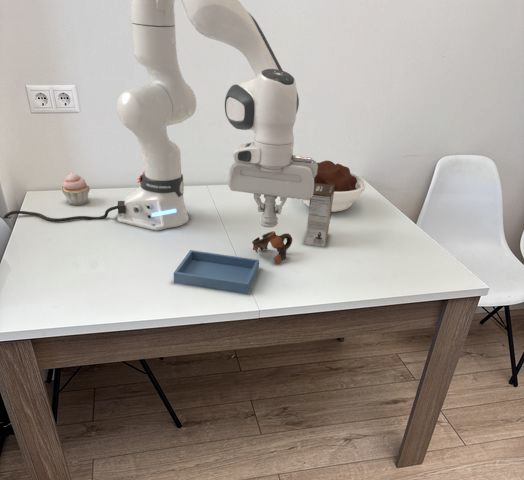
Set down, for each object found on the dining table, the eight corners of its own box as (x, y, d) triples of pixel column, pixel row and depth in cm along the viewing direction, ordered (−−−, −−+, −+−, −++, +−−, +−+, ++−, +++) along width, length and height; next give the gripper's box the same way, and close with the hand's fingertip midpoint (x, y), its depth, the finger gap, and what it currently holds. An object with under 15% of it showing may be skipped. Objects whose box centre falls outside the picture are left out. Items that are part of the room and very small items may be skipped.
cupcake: (87, 195, 170) (82, 166, 164) (95, 204, 164) (91, 174, 158) (60, 199, 166) (54, 169, 160) (67, 209, 160) (61, 178, 154)
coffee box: (308, 232, 156) (314, 182, 146) (328, 235, 155) (335, 184, 145) (304, 244, 148) (310, 192, 139) (325, 247, 148) (332, 195, 138)
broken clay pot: (269, 269, 136) (257, 242, 133) (255, 269, 144) (243, 243, 141) (303, 250, 139) (292, 223, 136) (287, 251, 148) (276, 226, 145)
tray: (174, 283, 126) (173, 272, 125) (190, 259, 137) (190, 249, 135) (247, 294, 124) (248, 284, 122) (258, 269, 134) (259, 259, 133)
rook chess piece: (268, 219, 123) (270, 187, 118) (281, 224, 120) (284, 193, 116) (255, 223, 120) (257, 191, 115) (268, 229, 118) (270, 197, 113)
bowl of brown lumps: (374, 207, 176) (382, 164, 167) (334, 226, 160) (341, 180, 151) (318, 188, 188) (323, 147, 179) (276, 204, 173) (279, 161, 164)
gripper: (320, 154, 111) (313, 212, 120) (233, 144, 114) (232, 202, 122) (317, 162, 106) (310, 222, 115) (226, 152, 109) (226, 211, 117)
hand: (269, 212), depth 118 cm, fingers closed on rook chess piece, 3 cm apart
